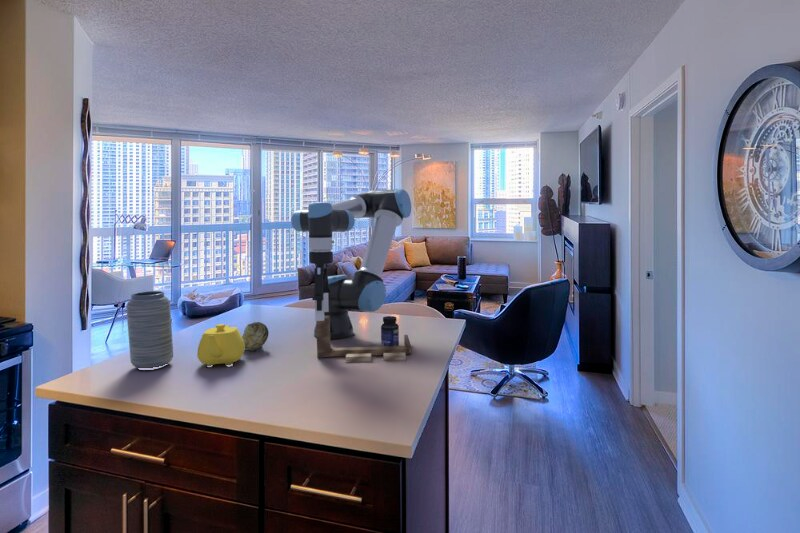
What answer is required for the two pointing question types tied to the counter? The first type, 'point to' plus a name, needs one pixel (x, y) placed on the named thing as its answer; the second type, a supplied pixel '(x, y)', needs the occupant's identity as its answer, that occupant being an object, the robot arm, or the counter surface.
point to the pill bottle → (389, 332)
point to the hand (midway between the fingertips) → (322, 316)
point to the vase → (149, 329)
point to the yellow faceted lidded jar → (220, 345)
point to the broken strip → (368, 357)
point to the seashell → (255, 335)
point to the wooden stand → (327, 351)
